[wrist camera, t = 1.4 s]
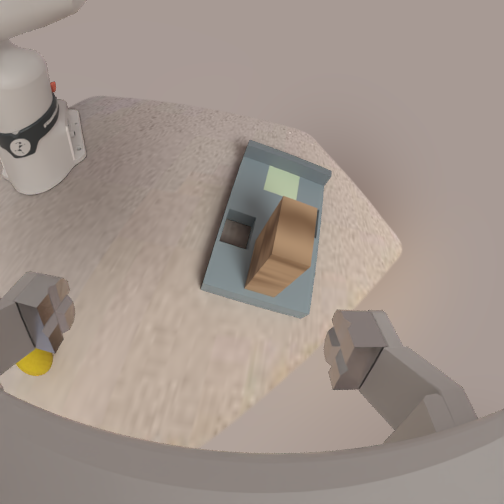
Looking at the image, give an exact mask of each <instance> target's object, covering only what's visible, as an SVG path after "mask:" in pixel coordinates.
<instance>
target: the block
mask: <svg viewBox="0 0 504 504" xmlns="http://www.w3.org/2000/svg"><path fill="white" fill-rule="evenodd" d="M317 209H318V208H315V207H313V206H310V205H307V204H305V203H302V202H299V201H297V200H294V199H291V198H288V197H286V196H283V197H282V199H281V201H280V202H279V204H278V205H277V207H276V209H275V210H274V212H273V213H272V215H271V217H270V218H269V220H268V221H267V223H266V225H265V226H264V228H263V230H262V231H261V233H260V234H259V236H258V238H257V239H256V242H255V246H254V250H253V254H252V258H251V263H250V267H249V271H248V275H247V279H246V283H245V288H244V289H247V290H250V291H254V292H257V293H261V294H264V295H267V296H271V297H275V296H277V295H278V294H279V293H280V292H281V291H283V290H284V289H285V288H286V287H287V286H289V285H290V284H291V283H292V282H293V281H294V280H296V279H297V278H298V277H299V276H300V275H302V274H303V273H304V272H305V271H306V270H307V269H309V268H310V267H311V260H312V252H313V244H314V236H315V227H316V218H317Z"/></svg>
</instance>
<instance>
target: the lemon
mask: <svg viewBox="0 0 504 504" xmlns="http://www.w3.org/2000/svg"><path fill="white" fill-rule="evenodd" d="M52 362H53V355H52V353H51V352H47V351H44V350H40V349H37V348H35V350H33V351H32V352H31V353H29V354H28V355H27V356H25V357H24V358H23V359H21V360H20V361H19V362H17V363H16V365H17V366H18V367H19V368H20V369H21V370H22V371H23V372H25V373H27V374H29V375H33V376H39V375H43V374H45V373H46V372H47V371H48V370H49V369H50V367H51V365H52Z"/></svg>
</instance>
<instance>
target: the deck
mask: <svg viewBox="0 0 504 504" xmlns="http://www.w3.org/2000/svg"><path fill="white" fill-rule="evenodd" d="M330 178H331V171H330V170H328V169H325V168H323V167H321V166H318V165H316V164H313V163H311V162H308V161H306V160H303V159H301V158H298V157H296V156H293V155H290V154H288V153H285V152H282V151H280V150H277V149H274V148H272V147H269V146H266V145H263V144H260V143H258V142H255V141H252V140H249V143H248V145H247V148H246V151H245V153H244V156H243V159H242V162H241V164H240V167H239V170H238V173H237V176H236V179H235V182H234V185H233V188H232V191H231V194H230V197H229V200H228V203H227V206H226V209H225V213H224V216H223V219H222V222H221V225H220V228H219V231H218V234H217V238H216V241H215V244H214V247H213V250H212V254H211V257H210V260H209V264H208V267H207V270H206V273H205V277H204V280H203V283H202V287H201V290H203V291H207V292H210V293H213V294H216V295H220V296H223V297H226V298H230V299H233V300H236V301H240V302H243V303H247V304H250V305H254V306H257V307H261V308H264V309H268V310H271V311H275V312H278V313H282V314H286V315H289V316H293V317H297V318H303V317H305V316H307V315H309V312H310V305H311V298H312V291H313V284H314V276H315V268H316V260H317V252H318V243H319V234H320V224H321V214H322V203H323V192H324V185H325V184H326V183H327V182H328V180H329V179H330ZM283 196H286V197H288V198H291V199H294V200H297V201H299V202H302V203H305V204H307V205H310V206H313V207H315V208H318V209H317V218H316V227H315V236H314V244H313V252H312V260H311V267H310V268H309V269H307V270H306V271H305V272H304V273H303V274H302V275H300V276H299V277H298V278H297V279H296V280H294V281H293V282H292V283H291V284H290V285H289V286H287V287H286V288H285V289H284V290H283V291H281V292H280V293H279V294H278V295H277V296H275V297H271V296H267V295H264V294H261V293H257V292H254V291H250V290H247V289H244V288H245V283H246V279H247V275H248V271H249V267H250V263H251V258H252V254H253V250H254V246H255V242H256V239H257V238H258V236H259V234H260V233H261V231H262V230H263V228H264V226H265V225H266V223H267V221H268V220H269V218H270V217H271V215H272V213H273V212H274V210H275V209H276V207H277V205H278V204H279V202H280V201H281V199H282V197H283ZM226 219H229V220H232V221H236V222H239V223H242V224H245V225H248V226H251V231H250V235H249V239H248V243H247V247H246V249H243V248H240V247H237V246H233V245H230V244H227V243H224V242H221V241H220V237H221V234H222V231H223V228H224V224H225V221H226Z"/></svg>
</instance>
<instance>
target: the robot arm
mask: <svg viewBox="0 0 504 504" xmlns="http://www.w3.org/2000/svg"><path fill="white" fill-rule="evenodd" d="M86 1H87V0H0V160H1V162H2V165H3V167H4V168H3V170H2V175H3V178H4V179H6V180H8V181H10V182H11V183H12V185H13V186H14V188H15V189H16V190H17V191H18V192H20V193H22V194H27V195H33V194H39V193H42V192H45V191H47V190H49V189H51V188H53V187H54V186H56V185H57V184H58V183H60V182H61V181H62V180H63V179H64V178H65V177H66V176H67V174H68V173H69V172H70V170H71V169H72V168H73V167H74V166H75V165H76V164H78V163H79V162H81V161H82V160H83V159H84V158H85V157H86V149H85V144H84V139H83V133H82V128H81V122H80V116H79V112H78V111H77V110H72V109H68V107H67V103H66V101H64V100H61V99H57V98H56V97H55V95H54V93H53V92H55V90H56V84H55V82H51V83H50V80H49V75H48V69H47V63H46V61H45V59H44V58H43V56H42V55H41V54H40V53H39V52H37V51H35V50H32V49H26V48H21V47H18V46H16V45H14V44H13V43H11V42H10V40H9V38H12V37H15V36H18V35H20V34H23V33H26V32H29V31H32V30H36V29H39V28H42V27H45V26H47V25H50V24H52V23H54V22H57V21H59V20H61V19H63V18H66V17H68V16H70V15H73V14H75V13H76V12H78V10H79V9H80V8H81V7H82V6H83V5H84V3H85V2H86ZM79 150H80V151H79ZM69 291H70V288H69V285H68V281H67V280H65V279H64V278H61V277H56V276H51V275H47V274H42V273H41V274H40V273H37V272H32V271H30V272H26V273H25V274H24V275H23V276H22V277H21V278H20V279H19V280H18V281H17V283H16V284H15V285H14V286H13V287H12V288H11V289H10V290H9V291H8V292H7V293H6V294H5V295H4V297H3V298H0V375H1V374H3V373H4V372H5V371H7V370H8V369H9V368H11V367H12V366H13V365H15V364H16V363H17V362H19V361H20V360H21V359H23V358H24V357H25V356H27V355H28V354H29V353H31V352H32V351H33V350H35V348H37V349H40V350H44V351H47V352H51V353H54V354H55V353H56V351H57V350H58V348H59V346H60V345H61V343H62V341H63V340H64V338H63V333H64V332H66V331H68V330H70V328H71V326H72V324H73V322H74V317H75V307H74V303H73V301H72V300H71V298H70V297H69V296H68V293H69ZM332 322H333V325H334V327H333V328H331V329H330V330H329V331H328V332H327V335H326V338H325V343H324V355H325V359H326V362H327V363H328V364H330V365H331V368H330V370H329V377H330V381H331V385H332V389H333V390H353V389H354V390H355V389H359V391H360V393H361V394H362V395H363V396H364V397H365V398H366V399H367V400H368V402H369V403H370V404H371V405H372V406H373V407H374V408H375V409H376V410H377V411H378V413H379V414H380V415H381V416H382V417H383V418H384V419H385V420H386V421H387V422H388V423H389V425H390V426H391V427H392V428H393V429H394V430H395V431H394V432H393V433H392V434H391V435H390V436H389V437H388V438H387V439H386V440H385V441H384V443H383V444H381V445H375V446H369V447H362V448H354V449H345V450H336V451H325V452H309V453H242V452H227V451H214V450H205V449H197V448H189V447H182V446H176V445H169V444H164V443H158V442H153V441H148V440H143V439H138V438H134V437H130V436H125V435H121V434H117V433H113V432H110V431H106V430H103V429H99V428H96V427H92V426H89V425H86V424H83V423H80V422H77V421H74V420H71V419H68V418H65V417H62V416H60V415H57V414H54V413H52V412H49V411H47V410H44V409H42V408H39V407H37V406H34V405H32V404H30V403H28V402H25V401H23V400H21V399H19V398H17V397H14V396H12V395H10V394H8V393H6V392H4V389H3V386H2V385H1V384H0V504H504V409H502V410H500V411H497V412H495V413H492V414H490V415H487V416H485V417H482V418H479V419H478V417H477V415H476V413H475V411H474V409H473V407H472V405H471V403H470V401H469V399H468V397H467V395H466V393H465V391H464V389H463V387H462V386H460V385H459V384H458V383H456V382H455V381H454V380H452V379H451V378H450V377H448V376H447V375H445V374H444V373H443V372H442V371H440V370H439V369H437V368H436V367H435V366H433V365H432V364H431V363H429V362H428V361H427V360H425V359H424V358H423V357H421V356H420V355H418V354H417V353H416V352H414V351H413V350H412V349H410V348H408V347H403V345H402V343H401V341H400V339H399V337H398V335H397V333H396V331H395V329H394V327H393V325H392V323H391V322H390V320H389V318H388V316H387V314H386V313H385V312H384V311H383V310H368V311H360V310H337V311H336V312H335V313H334V316H333V318H332Z"/></svg>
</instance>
